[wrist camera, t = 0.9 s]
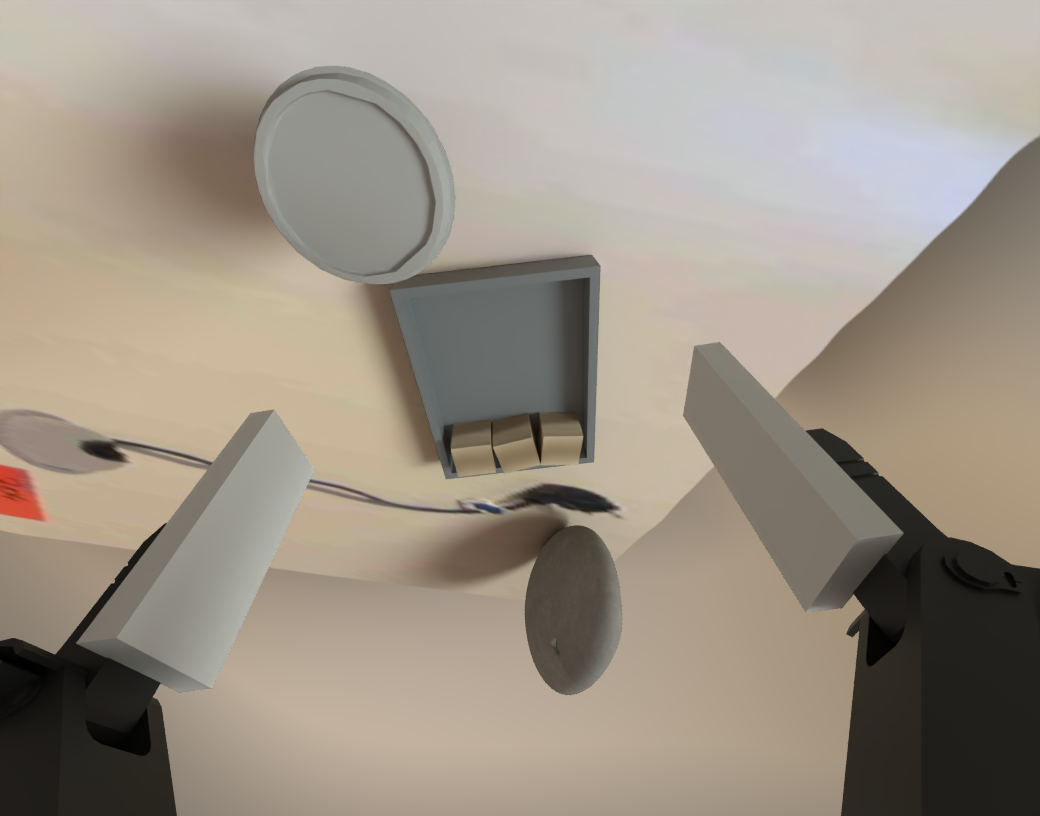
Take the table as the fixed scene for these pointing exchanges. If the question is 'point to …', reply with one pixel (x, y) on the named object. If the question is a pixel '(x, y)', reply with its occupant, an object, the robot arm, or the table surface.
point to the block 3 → (559, 438)
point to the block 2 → (515, 443)
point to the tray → (503, 345)
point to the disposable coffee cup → (354, 175)
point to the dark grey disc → (573, 610)
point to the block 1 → (473, 448)
